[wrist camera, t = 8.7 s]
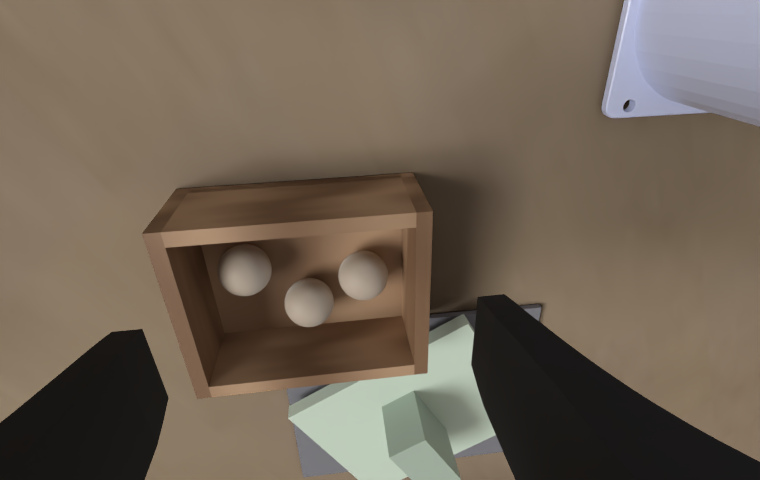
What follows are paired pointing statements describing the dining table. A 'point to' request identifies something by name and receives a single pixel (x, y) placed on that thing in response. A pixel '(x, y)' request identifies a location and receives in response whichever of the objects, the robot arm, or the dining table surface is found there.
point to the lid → (403, 415)
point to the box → (296, 281)
